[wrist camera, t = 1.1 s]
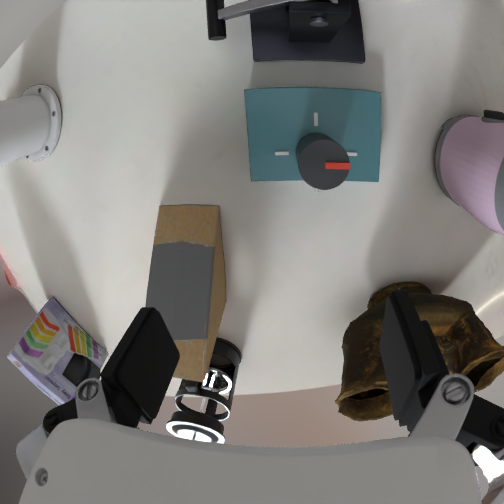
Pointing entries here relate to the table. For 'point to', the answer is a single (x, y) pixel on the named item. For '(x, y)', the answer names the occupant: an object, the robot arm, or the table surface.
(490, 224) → the blender
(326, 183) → the knob
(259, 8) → the press lever
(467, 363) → the pottery vessel
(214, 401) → the french press
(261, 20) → the black lever stand
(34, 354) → the cake pan box
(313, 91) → the teal dial base
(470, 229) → the table surface
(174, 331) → the sandwich container
